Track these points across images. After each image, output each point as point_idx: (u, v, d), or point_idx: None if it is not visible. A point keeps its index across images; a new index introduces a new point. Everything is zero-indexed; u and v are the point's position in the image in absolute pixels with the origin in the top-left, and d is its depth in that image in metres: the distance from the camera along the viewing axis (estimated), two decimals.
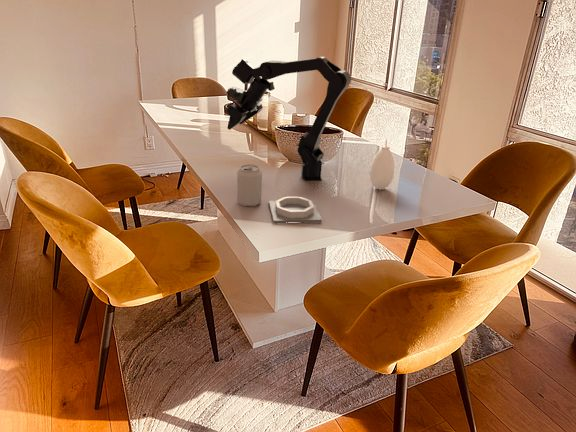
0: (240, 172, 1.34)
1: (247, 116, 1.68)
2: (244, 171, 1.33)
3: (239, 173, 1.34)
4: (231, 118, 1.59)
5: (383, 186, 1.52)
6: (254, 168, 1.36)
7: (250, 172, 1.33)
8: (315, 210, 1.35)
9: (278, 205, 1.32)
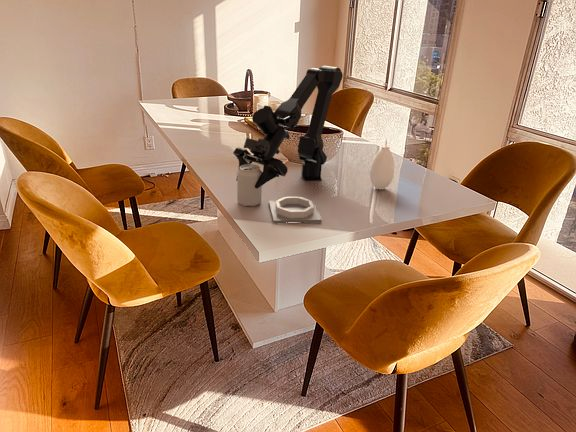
0: (240, 172, 1.34)
1: None
2: (244, 171, 1.33)
3: (239, 173, 1.34)
4: (265, 174, 1.34)
5: (383, 186, 1.52)
6: (254, 168, 1.36)
7: (250, 172, 1.33)
8: (315, 210, 1.35)
9: (278, 205, 1.32)
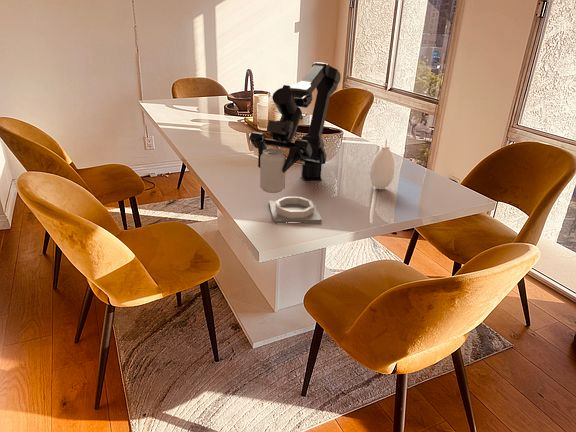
0: (266, 157, 1.27)
1: None
2: (270, 155, 1.27)
3: (265, 158, 1.27)
4: (292, 157, 1.29)
5: (383, 186, 1.52)
6: (277, 152, 1.30)
7: (277, 156, 1.27)
8: (315, 210, 1.35)
9: (278, 205, 1.32)
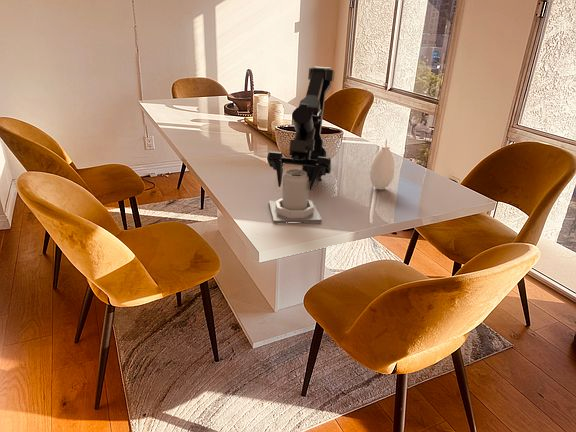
0: (291, 179, 1.28)
1: (281, 174, 1.33)
2: (296, 177, 1.27)
3: (290, 180, 1.28)
4: None
5: (383, 186, 1.52)
6: (299, 173, 1.31)
7: (302, 177, 1.28)
8: (315, 210, 1.35)
9: (278, 205, 1.32)
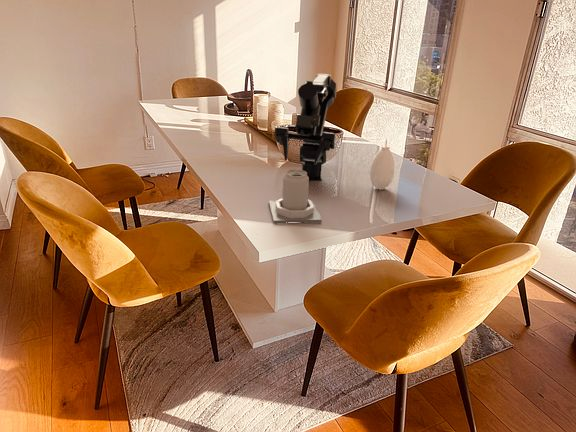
0: (291, 179, 1.28)
1: (287, 149, 1.39)
2: (296, 177, 1.27)
3: (290, 180, 1.28)
4: None
5: (383, 186, 1.52)
6: (299, 173, 1.31)
7: (302, 177, 1.28)
8: (315, 210, 1.35)
9: (278, 205, 1.32)
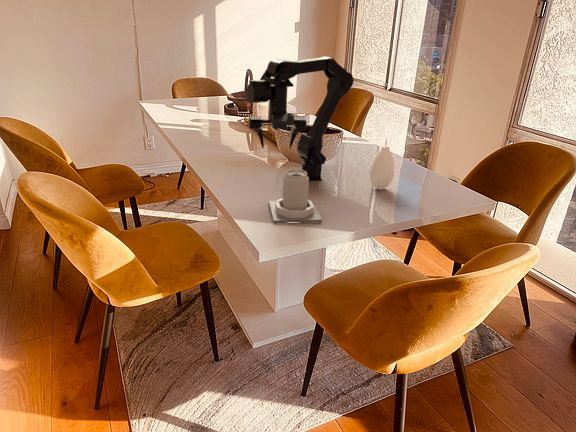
0: (291, 179, 1.28)
1: None
2: (296, 177, 1.27)
3: (290, 180, 1.28)
4: None
5: (383, 186, 1.52)
6: (299, 173, 1.31)
7: (302, 177, 1.28)
8: (315, 210, 1.35)
9: (278, 205, 1.32)
